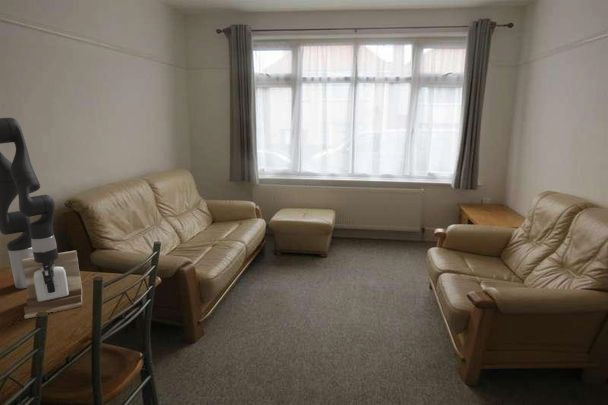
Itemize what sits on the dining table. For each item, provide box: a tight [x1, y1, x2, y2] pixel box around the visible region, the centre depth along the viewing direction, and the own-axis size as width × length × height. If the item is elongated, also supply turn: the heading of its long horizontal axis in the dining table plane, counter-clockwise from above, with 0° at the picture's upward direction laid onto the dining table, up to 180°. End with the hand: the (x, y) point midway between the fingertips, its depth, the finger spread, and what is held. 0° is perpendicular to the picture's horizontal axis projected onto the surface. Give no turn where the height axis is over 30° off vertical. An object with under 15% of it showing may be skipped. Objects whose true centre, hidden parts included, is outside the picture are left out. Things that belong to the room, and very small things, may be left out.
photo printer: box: [34, 267, 69, 302], centre depth 141 cm, size 10×4×12 cm, turn 123°
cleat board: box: [22, 250, 83, 319], centre depth 143 cm, size 16×18×18 cm
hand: (52, 289), depth 142 cm, fingers closed on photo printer, 4 cm apart
